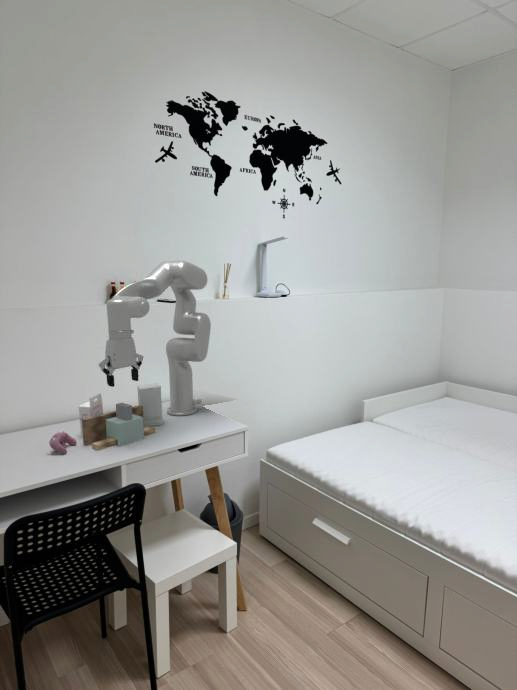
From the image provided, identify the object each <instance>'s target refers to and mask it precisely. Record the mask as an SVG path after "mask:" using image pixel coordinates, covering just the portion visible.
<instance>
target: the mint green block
mask: <svg viewBox="0 0 517 690" xmlns="http://www.w3.org/2000/svg"><path fill="white" fill-rule="evenodd" d="M132 407H133V405H131V404H128V403H125V402H118V403H116V404H115V411H116V417H114V418H110V419H106V435H107V439H108V438H113V439H116V440H118V444H117V446H118V447H123V446H126V445H129V443H130V444H132V442H133V443H135V441H136V442H139V441H142V440H145V436H144V428H145V427H143V417H140V416H137V415H134V414H132ZM141 439H142V440H141ZM138 440H139V441H138Z"/></svg>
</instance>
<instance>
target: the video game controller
mask: <svg viewBox="0 0 517 690" xmlns="http://www.w3.org/2000/svg"><path fill="white" fill-rule="evenodd" d="M48 443H49V447H50V448H51V449H53V450H54V451H56V453H59V455H66V454H67V453H68V450H67V449H66V447H67V445H70V446H76V445H77V440H76V439H75V438H73V437H72V436H71V435H70V434H68V432H65V431H58V432H56V433H55V434H53V435H52V436H51V438H50V439H49V442H48Z"/></svg>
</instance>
